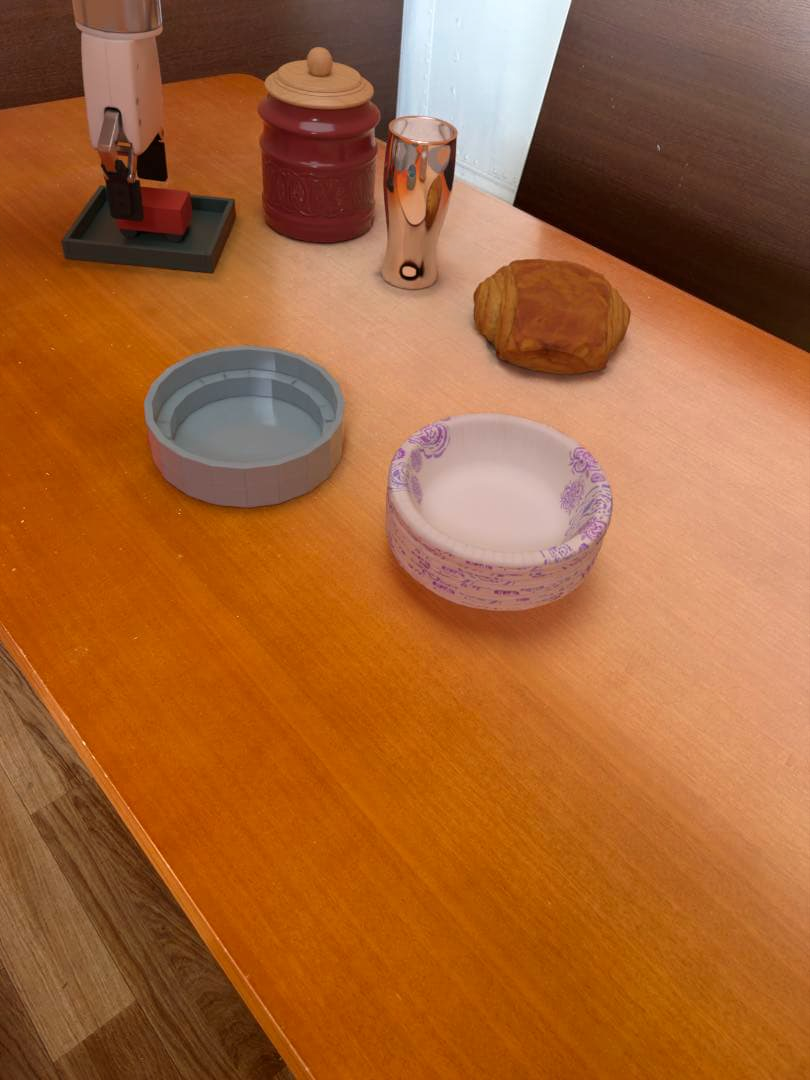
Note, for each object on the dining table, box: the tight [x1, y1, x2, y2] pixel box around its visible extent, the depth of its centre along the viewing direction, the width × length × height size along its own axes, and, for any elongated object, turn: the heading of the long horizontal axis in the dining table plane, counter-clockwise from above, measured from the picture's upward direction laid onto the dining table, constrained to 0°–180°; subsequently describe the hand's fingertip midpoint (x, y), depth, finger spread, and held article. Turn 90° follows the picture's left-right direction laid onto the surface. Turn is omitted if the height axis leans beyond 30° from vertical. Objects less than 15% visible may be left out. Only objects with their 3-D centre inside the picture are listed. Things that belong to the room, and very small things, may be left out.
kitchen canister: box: [257, 46, 381, 243], centre depth 86 cm, size 13×13×18 cm
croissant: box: [472, 258, 632, 375], centre depth 77 cm, size 14×16×8 cm
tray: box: [60, 184, 237, 274], centre depth 86 cm, size 15×13×2 cm
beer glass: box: [380, 115, 459, 290], centre depth 80 cm, size 7×7×15 cm
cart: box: [116, 186, 192, 243], centre depth 85 cm, size 7×4×4 cm, turn 88°
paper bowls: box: [384, 412, 614, 612], centre depth 56 cm, size 15×15×8 cm
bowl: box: [143, 344, 346, 509], centre depth 63 cm, size 15×15×4 cm
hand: (140, 198), depth 83 cm, fingers open, 9 cm apart
